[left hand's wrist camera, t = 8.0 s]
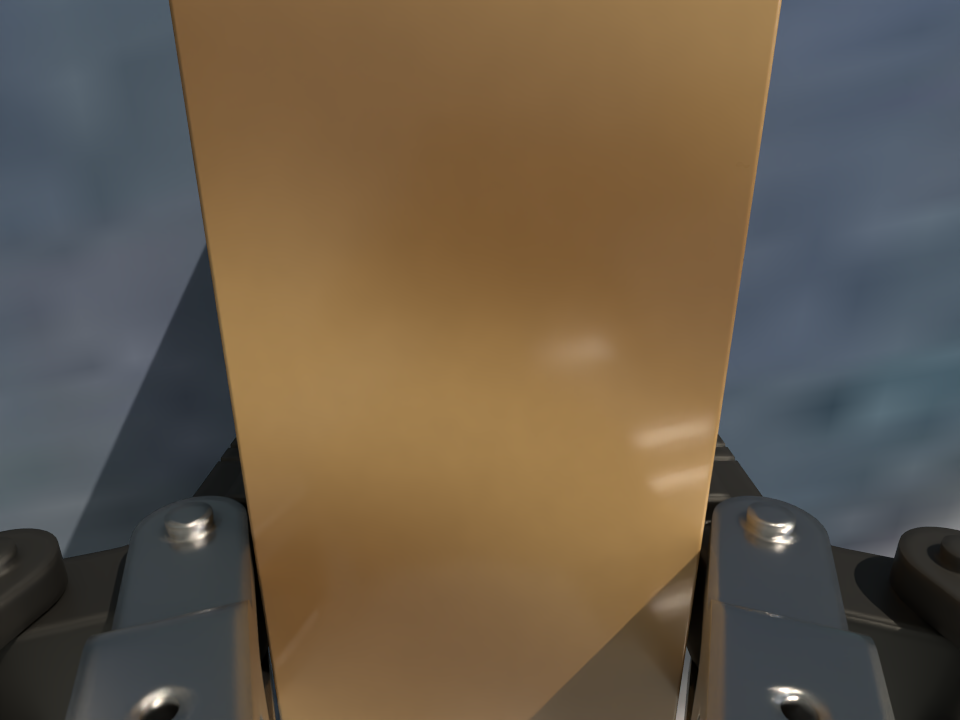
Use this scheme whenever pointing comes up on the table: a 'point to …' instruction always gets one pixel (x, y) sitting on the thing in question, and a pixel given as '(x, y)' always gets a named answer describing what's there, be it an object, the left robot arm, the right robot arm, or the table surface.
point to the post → (476, 334)
